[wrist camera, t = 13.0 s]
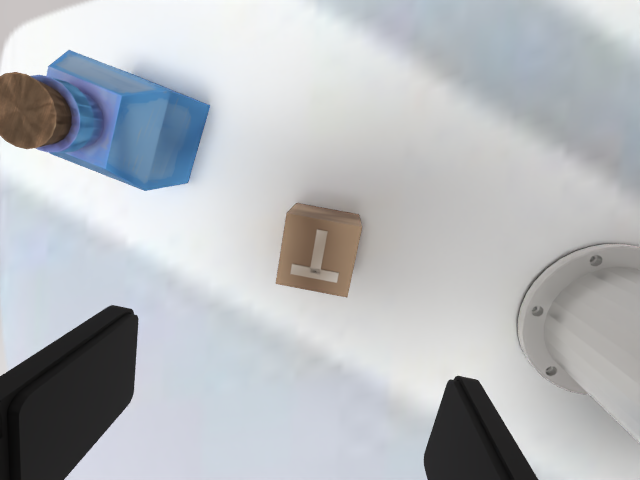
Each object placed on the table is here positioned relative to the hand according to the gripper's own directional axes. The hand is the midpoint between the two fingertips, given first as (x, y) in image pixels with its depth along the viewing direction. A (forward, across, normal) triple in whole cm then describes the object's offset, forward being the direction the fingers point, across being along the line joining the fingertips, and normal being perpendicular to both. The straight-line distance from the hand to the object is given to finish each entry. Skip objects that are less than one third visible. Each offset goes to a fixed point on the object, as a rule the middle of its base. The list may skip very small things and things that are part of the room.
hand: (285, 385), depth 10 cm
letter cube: (+18, 0, 0) cm, 18 cm away
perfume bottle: (+19, +14, -6) cm, 24 cm away
